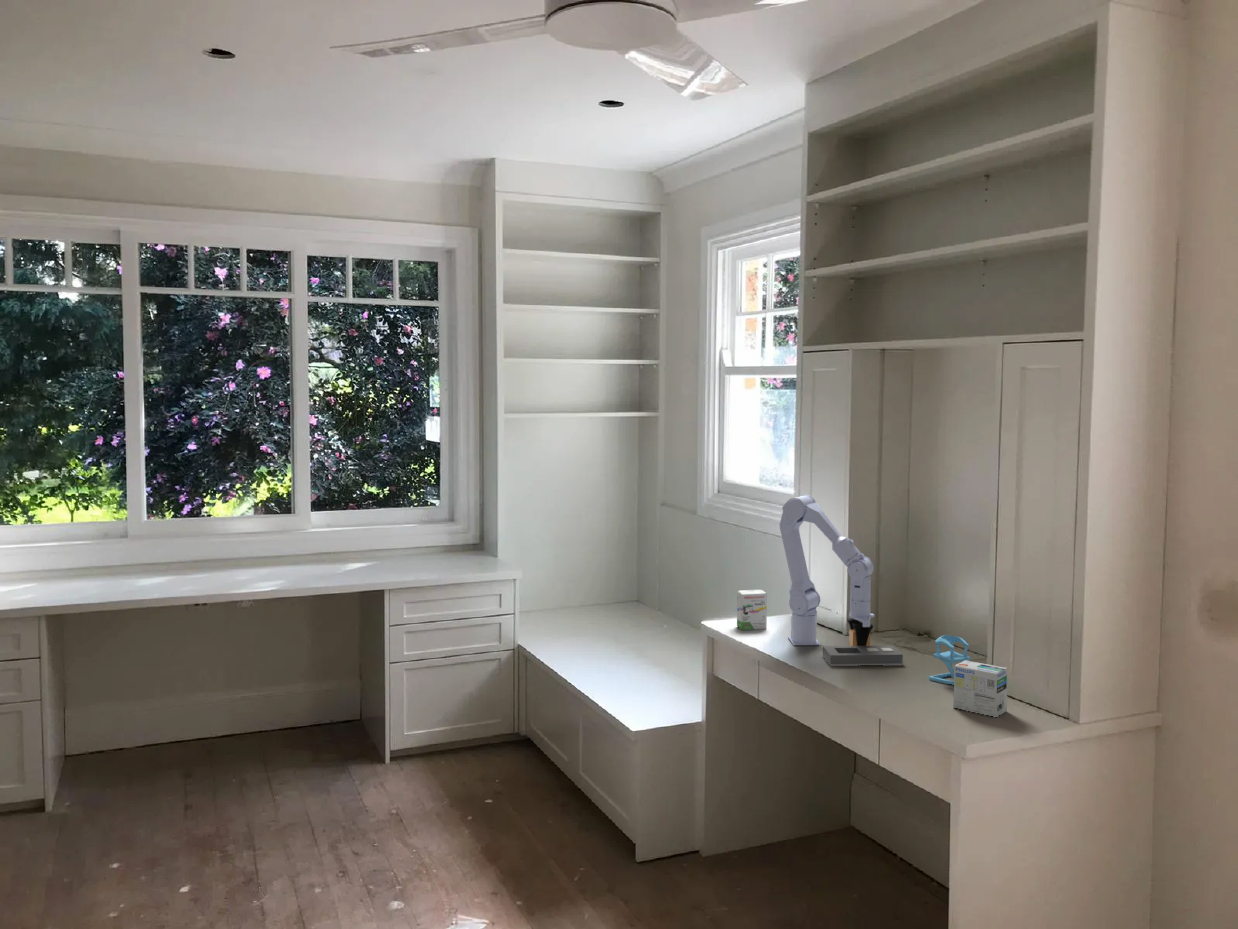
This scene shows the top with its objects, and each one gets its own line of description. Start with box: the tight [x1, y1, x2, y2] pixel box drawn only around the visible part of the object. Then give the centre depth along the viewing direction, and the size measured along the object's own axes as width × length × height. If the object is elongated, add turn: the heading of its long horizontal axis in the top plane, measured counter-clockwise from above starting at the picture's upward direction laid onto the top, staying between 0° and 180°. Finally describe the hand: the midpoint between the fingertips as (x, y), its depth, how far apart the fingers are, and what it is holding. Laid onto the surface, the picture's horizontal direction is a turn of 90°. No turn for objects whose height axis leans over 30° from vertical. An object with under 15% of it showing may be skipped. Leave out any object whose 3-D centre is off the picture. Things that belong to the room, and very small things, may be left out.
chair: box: [928, 634, 971, 686], centre depth 257 cm, size 8×8×12 cm
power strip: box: [822, 644, 904, 667], centre depth 277 cm, size 10×20×3 cm, turn 91°
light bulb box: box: [952, 660, 1008, 718], centre depth 236 cm, size 11×7×11 cm, turn 48°
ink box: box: [736, 589, 768, 631], centre depth 314 cm, size 8×5×12 cm, turn 101°
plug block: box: [848, 628, 871, 646], centre depth 287 cm, size 4×5×6 cm
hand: (859, 645), depth 287 cm, fingers closed on plug block, 4 cm apart
